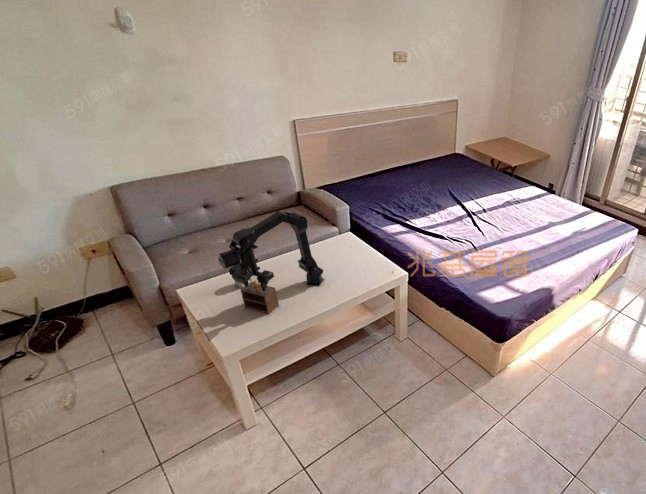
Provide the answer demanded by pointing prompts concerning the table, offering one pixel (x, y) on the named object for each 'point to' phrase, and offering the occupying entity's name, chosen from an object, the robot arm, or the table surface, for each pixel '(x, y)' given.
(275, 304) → the shelf
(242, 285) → the toy rhinoceros
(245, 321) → the table surface
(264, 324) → the table surface
